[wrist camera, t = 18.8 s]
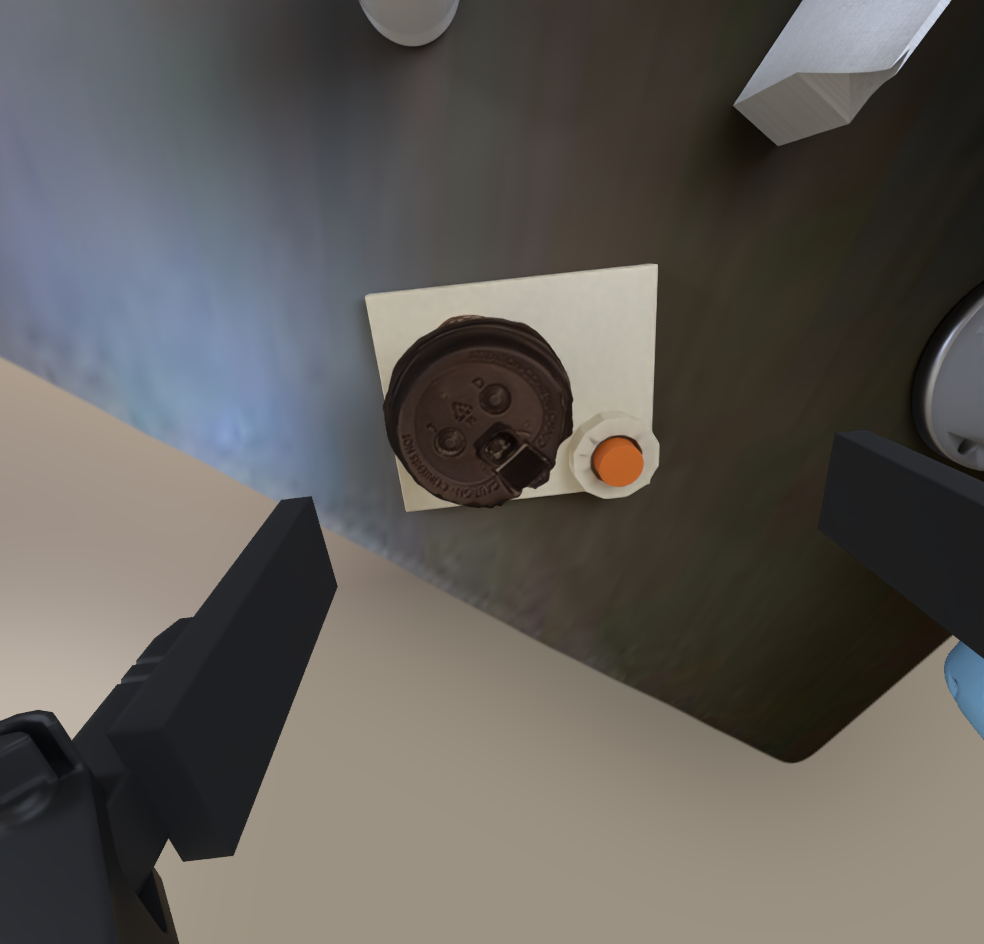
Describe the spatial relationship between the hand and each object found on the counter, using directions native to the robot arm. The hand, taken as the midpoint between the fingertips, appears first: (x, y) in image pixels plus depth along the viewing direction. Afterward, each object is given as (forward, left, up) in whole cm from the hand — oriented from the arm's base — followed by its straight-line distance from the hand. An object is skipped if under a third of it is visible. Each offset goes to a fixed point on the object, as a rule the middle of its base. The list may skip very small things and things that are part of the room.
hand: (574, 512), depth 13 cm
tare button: (-7, +8, -20) cm, 23 cm away
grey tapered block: (-18, -14, -23) cm, 32 cm away
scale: (-1, +3, -23) cm, 23 cm away
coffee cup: (+2, +1, -21) cm, 22 cm away
